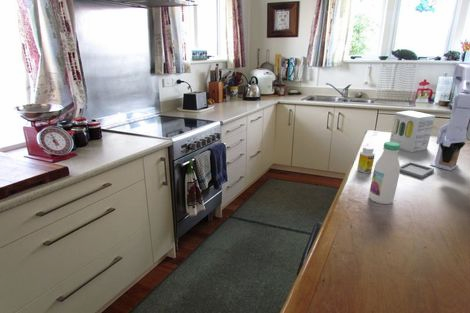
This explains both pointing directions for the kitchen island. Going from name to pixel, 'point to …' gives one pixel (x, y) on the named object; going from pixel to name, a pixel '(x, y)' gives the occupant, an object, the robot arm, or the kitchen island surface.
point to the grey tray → (416, 170)
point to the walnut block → (452, 161)
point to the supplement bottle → (366, 159)
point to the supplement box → (412, 130)
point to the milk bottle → (385, 175)
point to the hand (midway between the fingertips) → (448, 160)
